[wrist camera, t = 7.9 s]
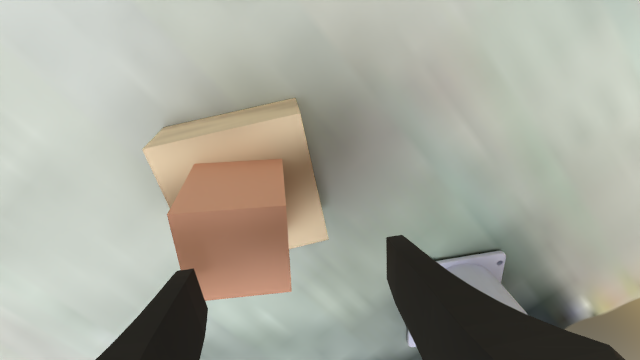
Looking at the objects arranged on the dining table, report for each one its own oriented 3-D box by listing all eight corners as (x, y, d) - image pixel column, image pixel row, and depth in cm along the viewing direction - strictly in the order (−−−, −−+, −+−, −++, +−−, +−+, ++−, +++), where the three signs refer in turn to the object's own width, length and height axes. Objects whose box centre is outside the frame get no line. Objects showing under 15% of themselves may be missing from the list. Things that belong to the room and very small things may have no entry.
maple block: (320, 206, 24) (328, 239, 20) (210, 232, 24) (199, 270, 20) (295, 96, 20) (300, 113, 17) (165, 125, 20) (142, 149, 16)
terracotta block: (286, 229, 20) (291, 291, 15) (208, 236, 19) (188, 302, 15) (282, 158, 18) (286, 205, 13) (194, 163, 17) (167, 214, 13)
